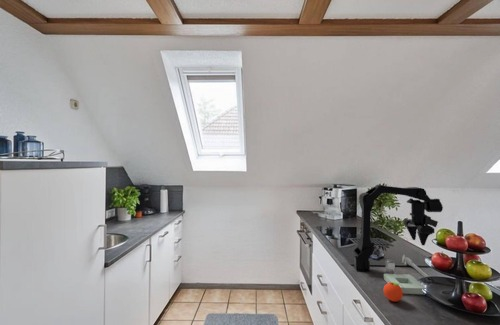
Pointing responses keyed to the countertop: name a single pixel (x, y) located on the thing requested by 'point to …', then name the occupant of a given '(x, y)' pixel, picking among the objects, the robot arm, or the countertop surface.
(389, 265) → the bushing
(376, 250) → the snack package
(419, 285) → the jig
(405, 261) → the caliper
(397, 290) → the clementine
